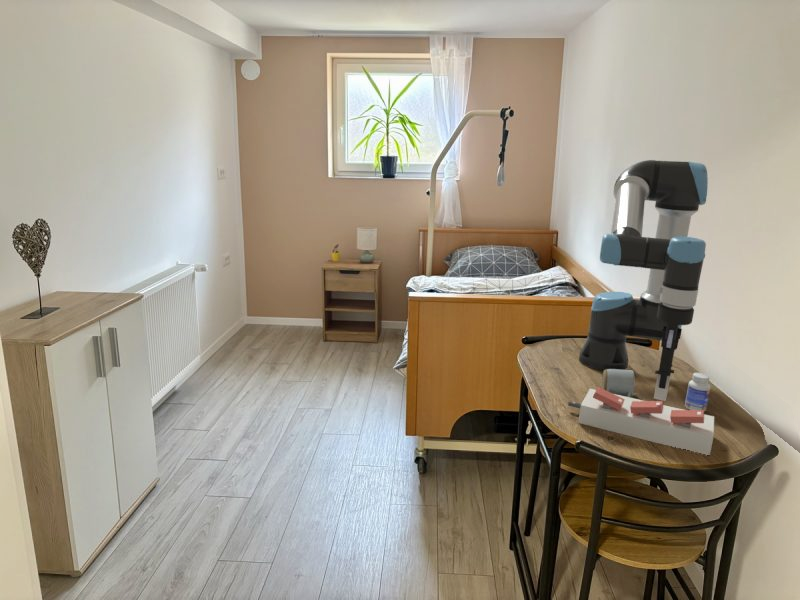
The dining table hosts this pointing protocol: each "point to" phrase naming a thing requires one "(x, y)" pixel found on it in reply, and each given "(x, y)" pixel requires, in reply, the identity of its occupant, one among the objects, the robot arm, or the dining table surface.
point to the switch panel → (647, 424)
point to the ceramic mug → (619, 382)
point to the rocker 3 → (687, 416)
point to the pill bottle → (698, 392)
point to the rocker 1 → (608, 398)
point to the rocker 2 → (647, 407)
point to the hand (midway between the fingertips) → (659, 398)
